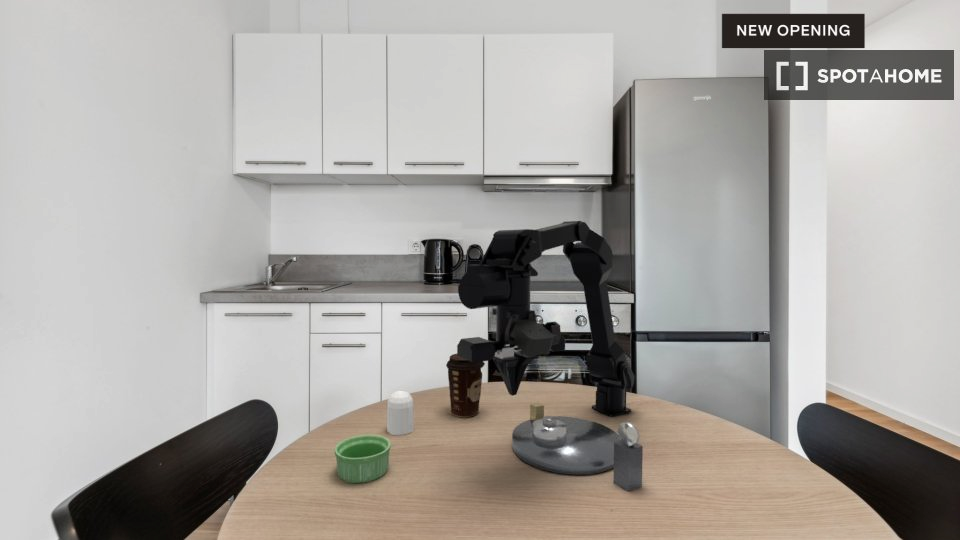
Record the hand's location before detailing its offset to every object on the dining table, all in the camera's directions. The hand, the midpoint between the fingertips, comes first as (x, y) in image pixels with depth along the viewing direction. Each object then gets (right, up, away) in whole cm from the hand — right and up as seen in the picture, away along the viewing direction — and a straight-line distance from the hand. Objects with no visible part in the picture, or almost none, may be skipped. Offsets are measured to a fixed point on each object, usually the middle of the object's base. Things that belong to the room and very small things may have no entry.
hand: (512, 394), depth 75 cm
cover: (+7, -10, +4) cm, 13 cm away
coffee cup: (-9, -11, +24) cm, 28 cm away
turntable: (+10, -12, +6) cm, 17 cm away
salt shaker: (-22, -12, +15) cm, 29 cm away
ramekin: (-25, -12, -2) cm, 28 cm away
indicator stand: (+18, -12, -6) cm, 22 cm away
